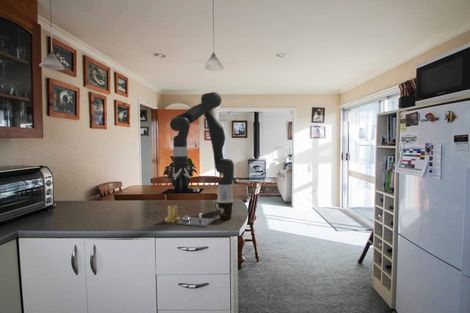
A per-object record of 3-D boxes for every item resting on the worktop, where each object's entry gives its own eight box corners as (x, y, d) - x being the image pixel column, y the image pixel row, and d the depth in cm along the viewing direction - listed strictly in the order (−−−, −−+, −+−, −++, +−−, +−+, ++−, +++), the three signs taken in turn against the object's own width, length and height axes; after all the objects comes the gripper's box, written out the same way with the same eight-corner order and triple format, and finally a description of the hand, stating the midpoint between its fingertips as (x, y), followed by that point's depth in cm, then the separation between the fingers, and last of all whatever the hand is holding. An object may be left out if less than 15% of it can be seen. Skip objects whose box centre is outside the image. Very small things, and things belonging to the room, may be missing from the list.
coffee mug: (235, 219, 157) (235, 201, 157) (222, 221, 153) (222, 203, 152) (226, 215, 167) (226, 198, 167) (213, 216, 163) (213, 200, 162)
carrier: (187, 218, 160) (187, 209, 159) (214, 220, 154) (214, 211, 154) (176, 224, 148) (176, 214, 148) (205, 226, 143) (205, 217, 143)
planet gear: (170, 218, 161) (170, 204, 161) (183, 219, 158) (182, 205, 158) (162, 221, 153) (161, 207, 153) (175, 223, 150) (175, 208, 150)
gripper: (186, 154, 155) (187, 183, 155) (164, 155, 144) (165, 186, 145) (195, 155, 149) (196, 185, 150) (173, 156, 139) (173, 188, 140)
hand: (181, 185), depth 147 cm, fingers open, 8 cm apart
